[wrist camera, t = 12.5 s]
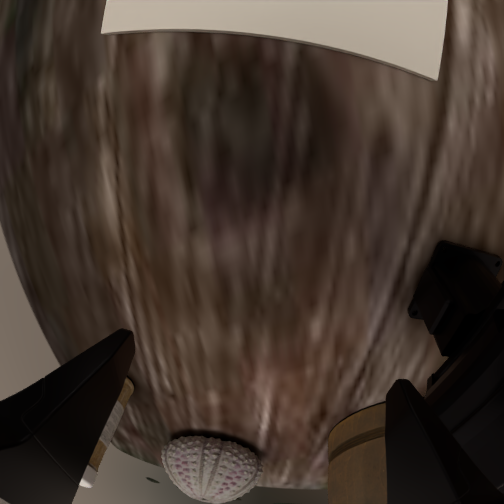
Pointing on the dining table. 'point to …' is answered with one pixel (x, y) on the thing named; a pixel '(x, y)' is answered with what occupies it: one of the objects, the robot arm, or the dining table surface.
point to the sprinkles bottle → (106, 435)
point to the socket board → (303, 25)
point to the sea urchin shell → (211, 468)
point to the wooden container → (358, 459)
